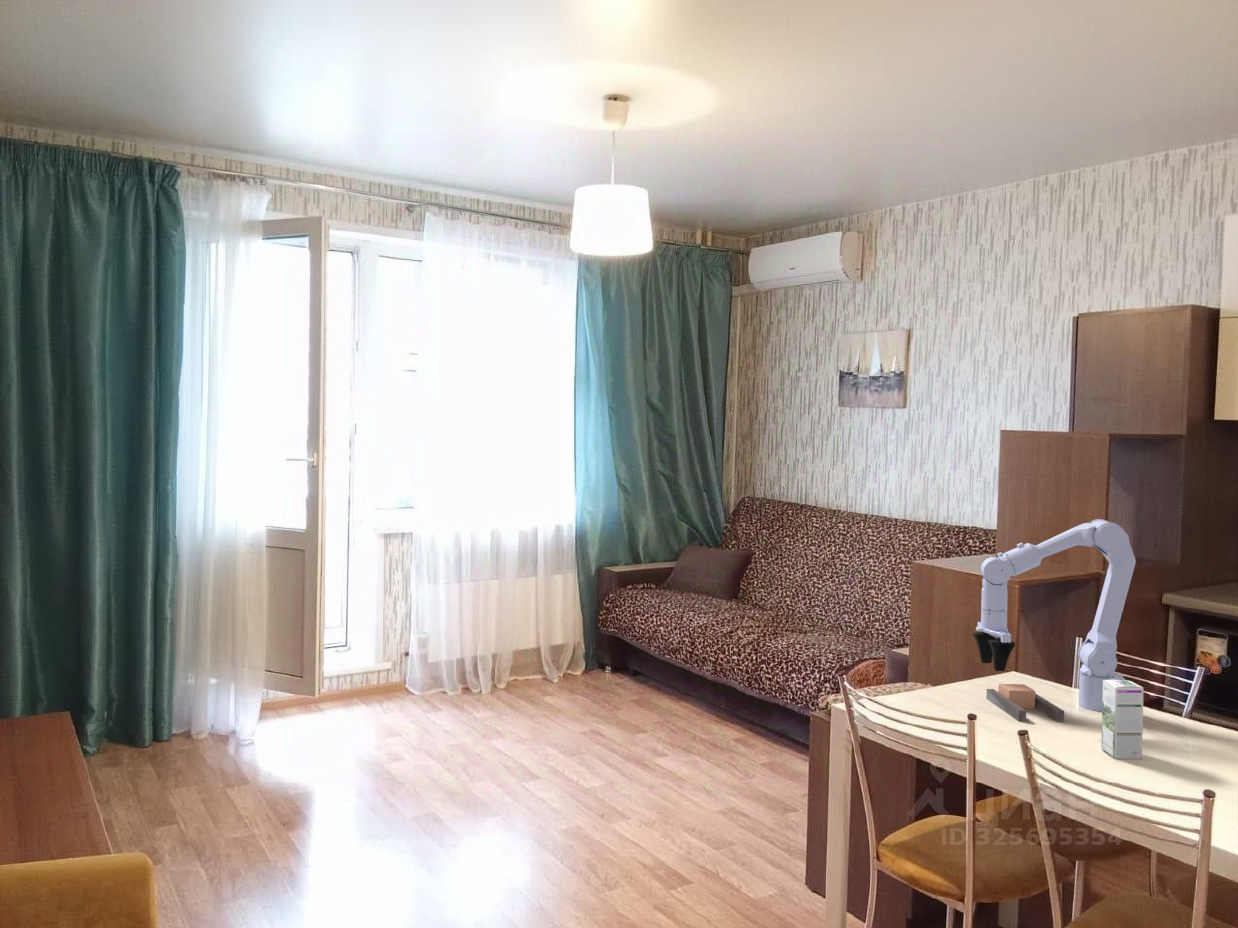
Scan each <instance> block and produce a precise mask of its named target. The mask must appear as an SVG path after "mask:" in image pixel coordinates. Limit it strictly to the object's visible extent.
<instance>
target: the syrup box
mask: <svg viewBox="0 0 1238 928" xmlns="http://www.w3.org/2000/svg"><path fill="white" fill-rule="evenodd" d="M1101 712H1102V714H1101V715H1102V716H1101V721H1102V722H1101V750H1102V752H1105V754H1108V756H1110V757H1111V758H1113V759H1118V760H1143V742H1144V741H1143V738H1144V737H1143V734H1144V731H1143V730H1144V724H1143V723H1144V687H1143V686H1141V685H1139V684H1138V683H1135V682H1134V681H1132V680H1128V679H1125V680H1118V679H1116V680H1103V704H1102V711H1101Z"/></svg>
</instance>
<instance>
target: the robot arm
mask: <svg viewBox="0 0 1238 928" xmlns="http://www.w3.org/2000/svg"><path fill="white" fill-rule="evenodd" d="M1075 546H1082V547H1089V548H1091V547H1095V548H1096V549H1098V550H1099V551H1100V552H1101V553H1102V555H1103V556H1104V558H1105V559H1106V560H1107V562H1108V563H1109V564H1108V568H1107V571H1106V576H1105V578H1104V583H1103V586H1102V589H1101V594H1100V597H1099V602H1098V605H1097V608H1096V613H1095V616H1094V620H1093V623H1092V628H1091V629H1090V631H1088V633H1087V635H1086V638H1085V640H1084V641H1083V643H1082V644H1081V645H1080V646H1079V647H1078V651H1077V655H1078V659H1079V661H1080V662H1081V663H1082V665H1081V667H1080V668H1079V678H1078V679H1079V681H1078V707H1080V708H1081V709H1085V710H1088V711H1095V712H1102V704H1103V680H1116V679H1118V680H1126V679H1125V678H1124V676H1123V675H1122V674H1120V673H1115V671H1116V669H1117V667H1118V659H1117V656H1116V655H1117V649H1118V644H1117V634H1118V630H1119V625H1120V622H1121V618H1122V614H1123V611H1124V608H1125V607H1124V606H1125V603H1126V599H1127V596H1128V592H1129V588H1130V585H1131V581H1132V577H1133V574H1134V571H1135V568H1136V567H1135V566H1136V561H1137V560H1136V557H1135V554H1134V552H1133V549H1132V546H1131V543H1130V536H1129V535H1128V533H1127V532H1126V531H1125V530H1124V529H1123V528H1122V527H1121V526H1120V525H1119V524H1117V523H1115V522H1110V521H1108V520H1106V519H1101V518H1099V519H1098V518H1097V519H1093V520H1091V521H1090V522H1085V523H1080V524H1079V525H1077V526H1074V527H1072V528H1070V529H1067V530H1066V531H1064V532H1061V533H1060V534H1057V535H1055V536H1053V537H1051V538H1049V539H1046V540H1044V541H1042V542H1040V543H1038V544H1037V545H1036V544H1033V543H1029V542H1027V543H1025V544H1024V543H1023V542H1020V543H1017V544H1016V547H1015V548H1012V549H1011V550H1008V551H1006V552H1002V551H1000V552H998V553H997V557H994V556H990V557H988V558H986V559H985V560H984V561H983V562H982V564H981V566H980V568H979V572H980V574H981V576H982V577H983V578H982V583H981V585H982V588H981V598H980V599H981V602H980V603H981V605H980V607H981V609H980V621H977V626H976V627H975V630H976V632H973V633H972V636H973V638H974V640H975V643H976V645H977V648H978V652H979V658H980V661H981V663H982V664H991V663H992V664H993V669H994V671H995V672H1005V670H1006V668H1007V665H1008V664H1007V663H1008V660H1009V658H1010V654H1011V653H1012V650H1013V649H1014V648H1015V646H1016V642H1014V641H1012V634H1011V633H1009V629H1008V601H1009V600H1008V599H1009V598H1008V596H1009V595H1008V593H1009V592H1008V582H1009V580H1010V579H1011V577H1016V576H1018V575H1020V574H1023V573H1024V572H1027V571H1030V570H1032V569H1034V568H1037V567H1039V566H1040V565H1041V562H1042V560H1043V558H1046V557H1049V556H1052V555H1054V554H1056V553H1060V552H1062V551H1064V550H1067V549H1070V548H1072V547H1075Z"/></svg>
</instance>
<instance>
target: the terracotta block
mask: <svg viewBox="0 0 1238 928" xmlns="http://www.w3.org/2000/svg"><path fill="white" fill-rule="evenodd" d="M997 692H999V693H1000V694H1002V695H1003V696H1005V697H1006V698H1008V699H1009V700H1011V701H1012V702H1014V703H1015V704H1017V705H1018V706H1020V707H1021V708H1023V709H1031V710H1032V709H1033V710H1034V709H1036V708H1035V693H1036V690H1034V689H1033V688H1031V687H1030V686H1028V685H1026V684H1023V683H1022V684H1021V683H1015V684H1013V683H1010V684H1009V683H1000V684H999V683H998V691H997Z"/></svg>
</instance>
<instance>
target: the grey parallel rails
mask: <svg viewBox="0 0 1238 928" xmlns="http://www.w3.org/2000/svg"><path fill="white" fill-rule="evenodd" d="M985 694H986V697H985V699H986V700H987V701H989V702H990V703H992V704H993V705H995V706H996V707H997V708H999V709H1000V710H1002V711H1003V712H1004V713H1006V714H1007V715H1009V716H1010V717H1011V718H1013V719H1014V720H1016V721H1018V722H1026V723H1027V710H1025V708H1021V707H1020V706H1018V705H1017V704H1015V703H1014V702H1012V701H1011V700H1009V699H1008V698H1006V697H1005V696H1003V695H1002V694H1000V693H999V692H998V691H997V690H996V689H994V688H986V693H985ZM1035 709H1037V711H1040V712H1041V713H1043V714H1044V715H1045V716H1047V717H1049V718H1050V719H1051V720H1053V721H1055V722H1057V723H1064V722H1065V713H1066V712H1065V710H1063V709H1062V708H1060V707H1059V706H1058V705H1055V704H1053V703H1051V702H1050V701H1049V700H1047V699H1046V698H1044V697H1042V696H1040V695H1039V694H1037V692H1035Z"/></svg>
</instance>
